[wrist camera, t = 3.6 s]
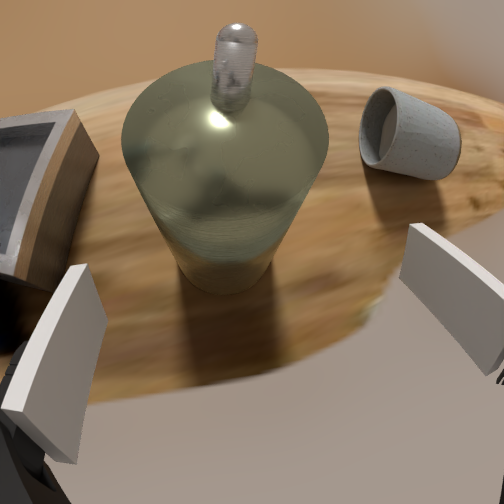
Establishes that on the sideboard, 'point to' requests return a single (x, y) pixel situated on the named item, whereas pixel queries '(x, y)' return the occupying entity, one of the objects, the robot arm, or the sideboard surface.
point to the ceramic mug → (408, 136)
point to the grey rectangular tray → (41, 194)
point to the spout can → (225, 160)
